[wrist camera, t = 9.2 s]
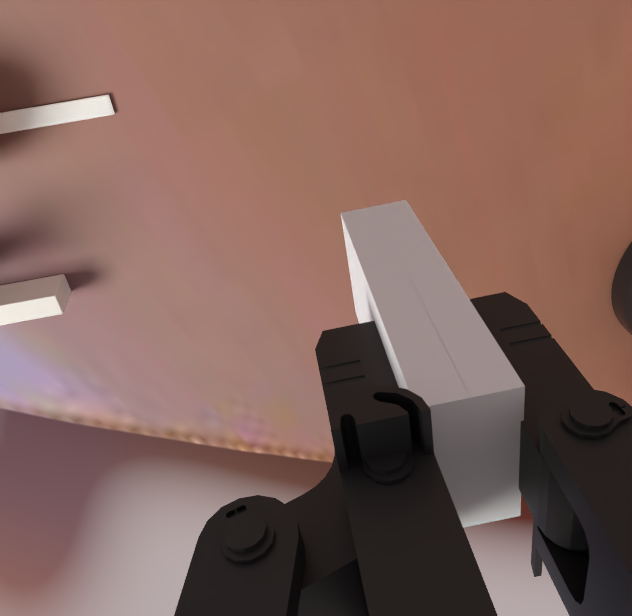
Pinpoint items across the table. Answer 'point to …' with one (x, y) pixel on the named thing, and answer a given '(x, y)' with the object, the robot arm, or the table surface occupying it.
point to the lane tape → (55, 113)
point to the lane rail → (33, 299)
